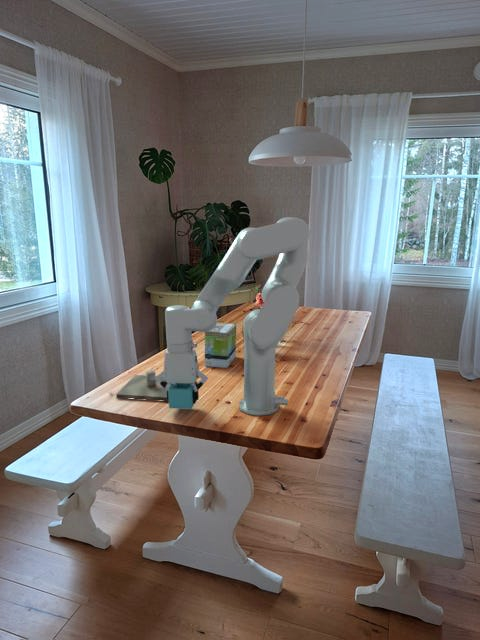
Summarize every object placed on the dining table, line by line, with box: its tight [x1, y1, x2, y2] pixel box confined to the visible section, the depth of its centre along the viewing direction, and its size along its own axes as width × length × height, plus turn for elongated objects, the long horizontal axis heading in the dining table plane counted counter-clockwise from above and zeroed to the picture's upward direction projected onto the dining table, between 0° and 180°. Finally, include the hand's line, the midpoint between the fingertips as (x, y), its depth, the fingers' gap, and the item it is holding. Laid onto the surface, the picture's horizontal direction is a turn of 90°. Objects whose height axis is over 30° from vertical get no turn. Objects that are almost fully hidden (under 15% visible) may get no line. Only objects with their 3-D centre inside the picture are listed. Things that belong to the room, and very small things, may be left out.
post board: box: [115, 370, 169, 402], centre depth 155 cm, size 18×18×6 cm
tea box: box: [204, 322, 237, 369], centre depth 183 cm, size 15×10×15 cm
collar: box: [168, 383, 195, 410], centre depth 138 cm, size 7×7×6 cm
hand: (183, 401), depth 139 cm, fingers closed on collar, 7 cm apart
